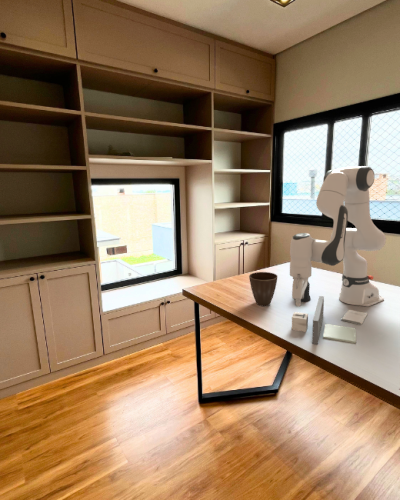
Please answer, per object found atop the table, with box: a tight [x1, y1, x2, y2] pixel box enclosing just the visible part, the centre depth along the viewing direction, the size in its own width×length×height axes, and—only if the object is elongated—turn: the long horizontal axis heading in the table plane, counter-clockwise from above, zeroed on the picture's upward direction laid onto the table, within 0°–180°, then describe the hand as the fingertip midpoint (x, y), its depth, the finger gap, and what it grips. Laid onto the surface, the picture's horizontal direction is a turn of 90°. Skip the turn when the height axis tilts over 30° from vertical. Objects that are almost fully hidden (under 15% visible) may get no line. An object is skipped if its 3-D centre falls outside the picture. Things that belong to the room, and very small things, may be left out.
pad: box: [322, 323, 357, 344], centre depth 122 cm, size 12×12×1 cm
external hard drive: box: [341, 309, 368, 326], centre depth 136 cm, size 2×8×12 cm
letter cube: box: [291, 311, 309, 333], centre depth 129 cm, size 6×6×6 cm
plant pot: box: [248, 271, 278, 307], centre depth 157 cm, size 15×15×16 cm
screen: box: [311, 295, 325, 345], centre depth 127 cm, size 28×2×10 cm, turn 153°
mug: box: [293, 281, 312, 303], centre depth 162 cm, size 12×9×11 cm
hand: (299, 301), depth 127 cm, fingers open, 8 cm apart
